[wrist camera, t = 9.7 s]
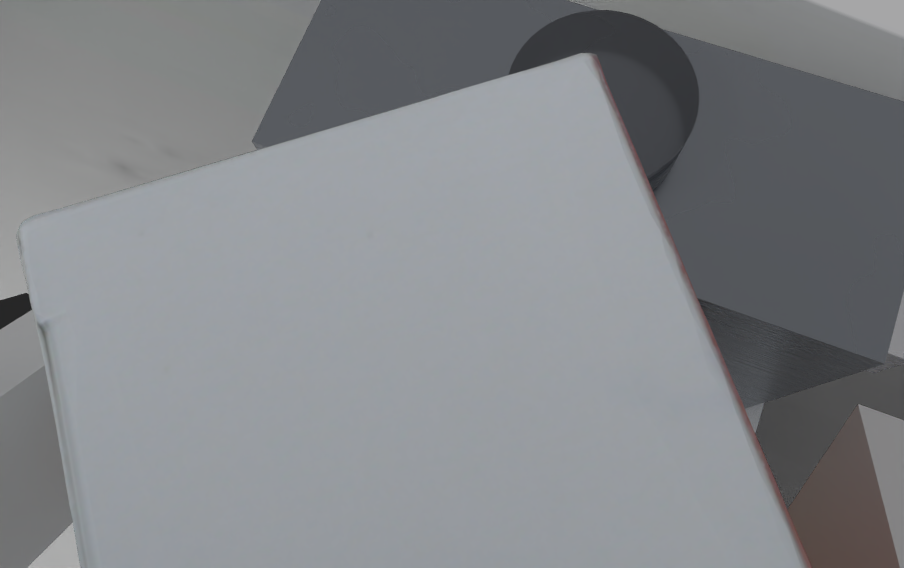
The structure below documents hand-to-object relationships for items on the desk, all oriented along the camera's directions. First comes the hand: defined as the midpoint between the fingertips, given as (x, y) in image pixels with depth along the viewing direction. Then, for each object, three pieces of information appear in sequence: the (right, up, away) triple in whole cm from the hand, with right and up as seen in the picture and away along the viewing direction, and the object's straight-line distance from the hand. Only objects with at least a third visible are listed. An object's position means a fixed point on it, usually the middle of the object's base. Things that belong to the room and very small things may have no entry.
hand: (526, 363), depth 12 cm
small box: (-1, -4, +4) cm, 5 cm away
